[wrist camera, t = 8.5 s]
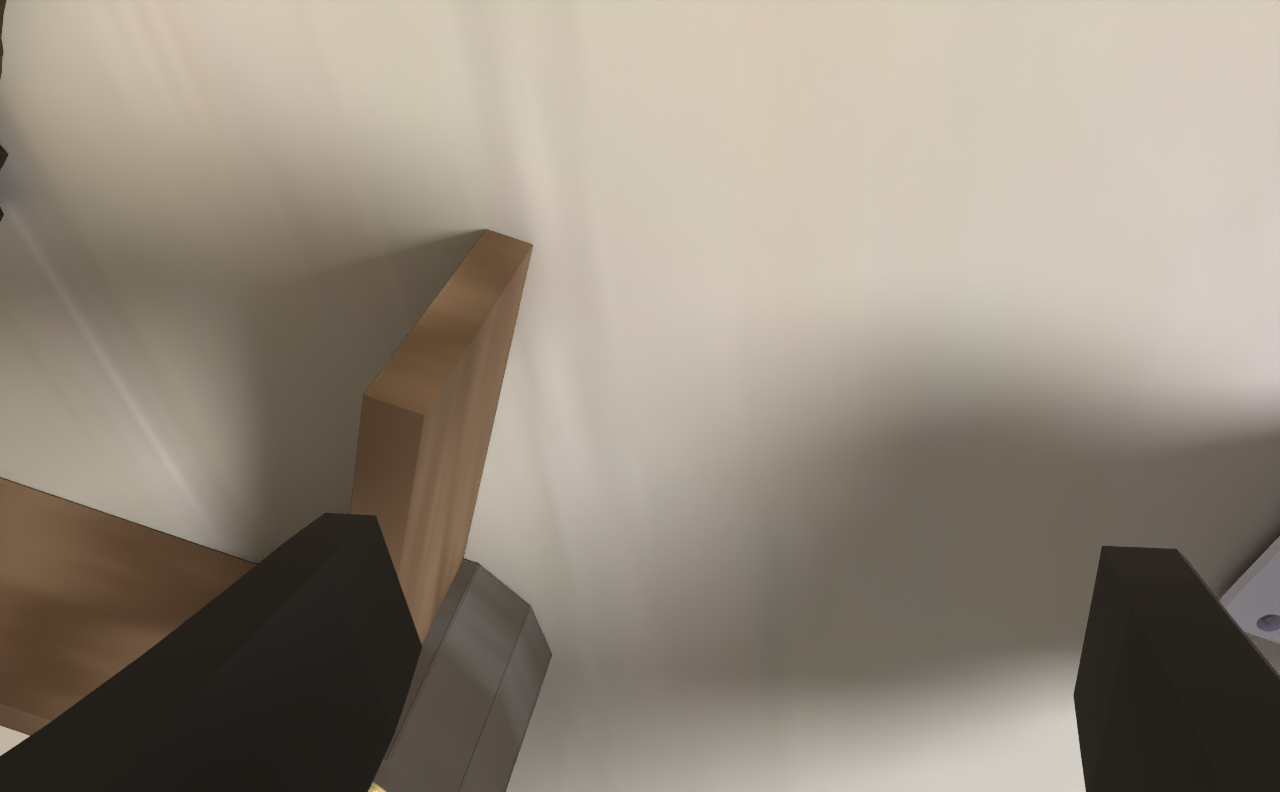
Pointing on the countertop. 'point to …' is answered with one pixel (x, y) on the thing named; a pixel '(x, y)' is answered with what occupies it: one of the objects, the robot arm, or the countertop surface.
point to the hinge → (383, 486)
